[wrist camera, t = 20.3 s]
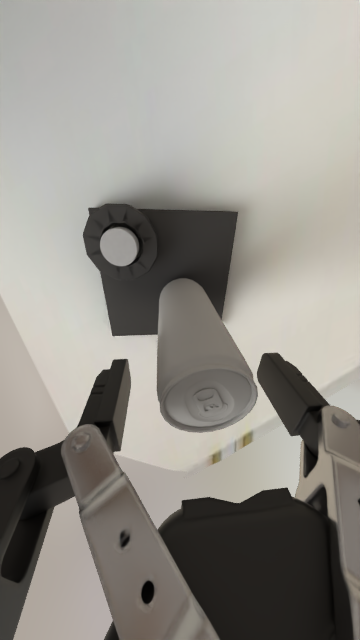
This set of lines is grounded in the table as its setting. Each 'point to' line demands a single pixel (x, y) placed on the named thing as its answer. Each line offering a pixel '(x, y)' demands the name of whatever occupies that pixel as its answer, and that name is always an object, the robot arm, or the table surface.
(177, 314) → the beverage can
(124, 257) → the button
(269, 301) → the table surface
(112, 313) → the scale
